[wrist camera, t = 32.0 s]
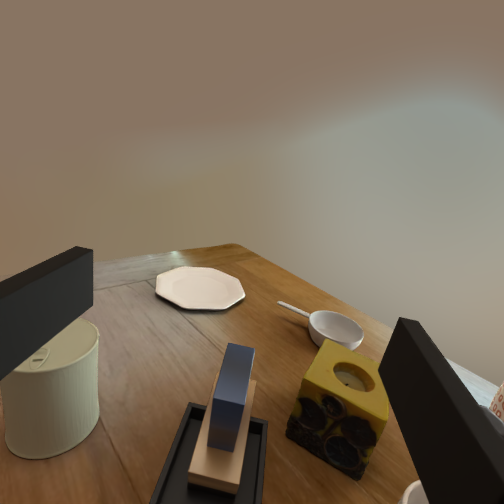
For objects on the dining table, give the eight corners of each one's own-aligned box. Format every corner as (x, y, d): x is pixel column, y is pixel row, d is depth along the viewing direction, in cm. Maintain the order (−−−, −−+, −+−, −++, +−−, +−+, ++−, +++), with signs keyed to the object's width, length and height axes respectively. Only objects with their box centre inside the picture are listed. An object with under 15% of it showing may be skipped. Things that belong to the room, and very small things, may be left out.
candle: (308, 388, 48) (324, 335, 45) (373, 423, 44) (397, 368, 40) (281, 436, 39) (299, 375, 36) (360, 485, 35) (388, 421, 32)
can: (-14, 465, 30) (-30, 369, 26) (26, 392, 39) (18, 310, 35) (89, 454, 33) (88, 366, 29) (106, 388, 41) (107, 312, 37)
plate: (157, 270, 77) (157, 264, 76) (233, 274, 83) (234, 269, 82) (153, 313, 59) (153, 307, 59) (250, 315, 65) (251, 309, 64)
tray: (247, 620, 24) (253, 602, 23) (122, 586, 24) (123, 567, 23) (264, 435, 39) (268, 420, 38) (186, 416, 40) (189, 401, 39)
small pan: (354, 366, 55) (361, 349, 54) (264, 327, 61) (268, 311, 60) (361, 337, 64) (367, 322, 63) (282, 306, 71) (286, 292, 70)
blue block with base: (234, 500, 31) (253, 439, 24) (186, 488, 31) (190, 424, 24) (251, 398, 40) (268, 331, 33) (214, 389, 40) (223, 321, 33)
